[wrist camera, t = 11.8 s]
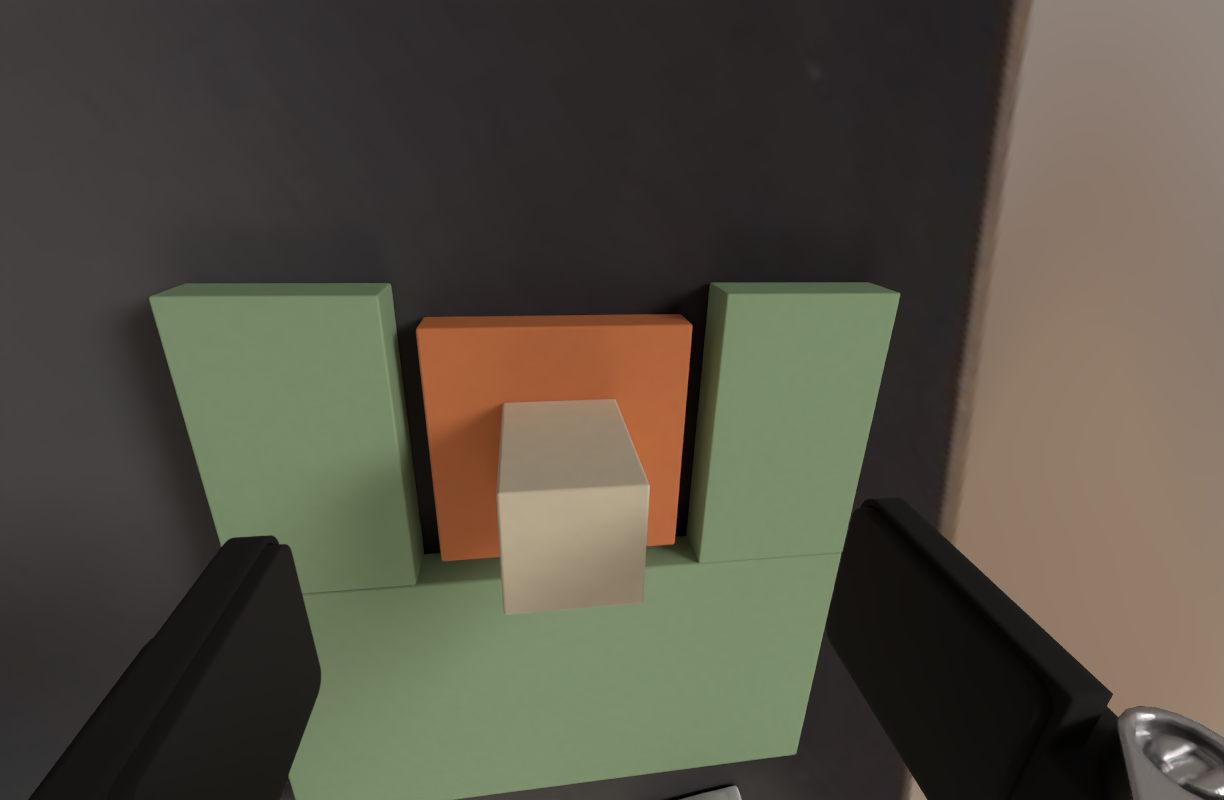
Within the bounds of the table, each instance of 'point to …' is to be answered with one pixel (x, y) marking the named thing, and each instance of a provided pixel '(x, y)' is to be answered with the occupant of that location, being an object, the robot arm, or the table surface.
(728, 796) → the ink box
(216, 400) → the green mat
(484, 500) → the terracotta pad
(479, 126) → the table surface
